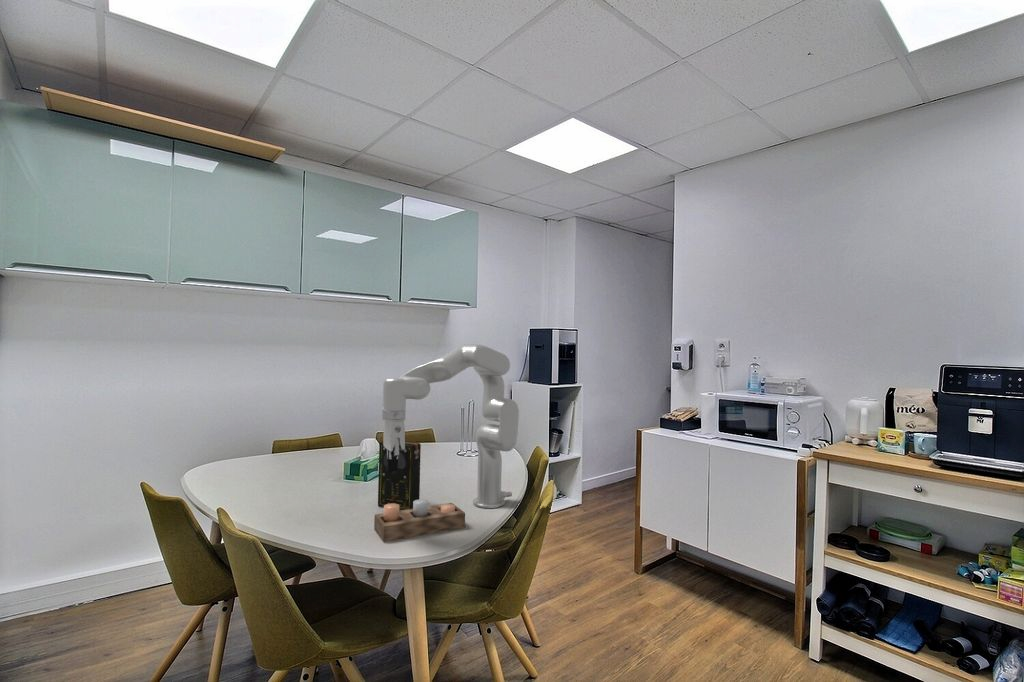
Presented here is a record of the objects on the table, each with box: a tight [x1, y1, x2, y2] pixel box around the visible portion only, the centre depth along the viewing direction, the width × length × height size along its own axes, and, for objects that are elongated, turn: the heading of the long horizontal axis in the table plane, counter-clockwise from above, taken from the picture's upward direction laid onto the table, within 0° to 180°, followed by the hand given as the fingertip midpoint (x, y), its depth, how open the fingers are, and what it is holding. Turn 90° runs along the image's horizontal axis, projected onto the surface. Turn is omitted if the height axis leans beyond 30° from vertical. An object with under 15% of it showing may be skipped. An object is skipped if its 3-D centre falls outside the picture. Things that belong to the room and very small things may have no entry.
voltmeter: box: [377, 441, 422, 511], centre depth 184 cm, size 16×9×25 cm, turn 70°
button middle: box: [413, 498, 429, 518], centre depth 162 cm, size 5×5×5 cm
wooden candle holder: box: [373, 502, 466, 543], centre depth 162 cm, size 28×12×5 cm, turn 120°
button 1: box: [383, 503, 400, 523], centre depth 157 cm, size 5×5×5 cm
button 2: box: [441, 503, 456, 513], centre depth 167 cm, size 5×5×5 cm
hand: (392, 470), depth 157 cm, fingers closed
